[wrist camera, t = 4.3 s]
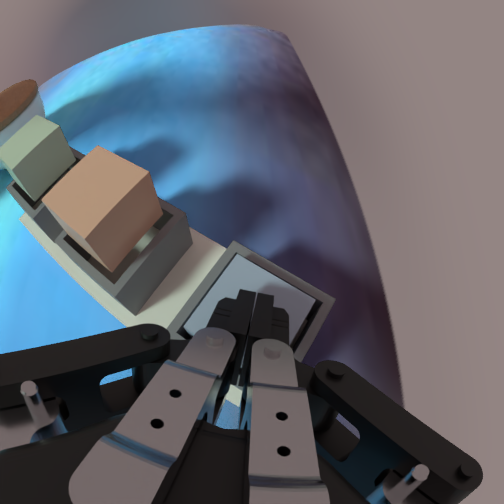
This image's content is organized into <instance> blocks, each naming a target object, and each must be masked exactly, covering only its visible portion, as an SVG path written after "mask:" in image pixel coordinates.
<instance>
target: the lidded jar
mask: <svg viewBox="0 0 504 504" xmlns="http://www.w3.org/2000/svg"><path fill="white" fill-rule="evenodd" d="M36 115H38V116H41V117H43V118H45V119H46V117H45V110H44V105H43V101H42V98H41V96H40V93H39V91H38V86H37V83H36V81H34V80H30V79H29V80H25V81H21V82H19V83H16V84H14V85H12V86H11V87H9V88H7V89H6V90H4V91H2V92H1V93H0V148H1V147H2V146H3V145H4V144H5V143H6V142H7V141H8V140H9V139H10V138H11V137H12V136H13V135H14V134H15V133H16V132H17V131H18V130H20V129H21V128H22V127H23V126H24V125H25V124H26V123H27V122H29V121H30V120H31V119H32V118H33V117H34V116H36ZM0 169H6V168H5V166H4V165H3V163H2V162H1V160H0Z"/></svg>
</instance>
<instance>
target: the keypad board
mask: <svg viewBox="0 0 504 504" xmlns="http://www.w3.org/2000/svg"><path fill="white" fill-rule="evenodd" d="M69 147H70V146H69ZM70 149H71V151H72V153H73V155H74V157H75V159H76V161H75V162H74V163H73V164H72V165H71V166H70V167H69V168H68V169H66V170H65V171H64V172H63V173H62V174H61V175H60V176H59V177H58V178H57V179H56V180H55V181H54V182H53V183H52V184H51V185H50V186H49V187H48V188H47V189H46V191H45V192H44V193H43V194H42V195H41V196H40V197H39V198H38V199H37V200H36V201H34V200H33V199H32V198H31V197H30V196H29V195H28V194H27V193H26V192H25V191H24V190H23V189H22V188H21V187H20V186H19V185H18V184H17V183H16V182H15V180H13V181H12V182H11V183H10V184H9V185H8V186H7V187H6V188H7V190H8V191H9V192H10V194H11V195H12V196H13V197H14V199H15V200H16V201H17V202H18V204H19V205H20V206H21V207H22V209H23V210H24V211H25V213H24V214H23V215H22V216H21V217H20V219H19V220H20V221H21V222H22V223H23V224H24V226H25V227H26V228H27V229H28V230H29V232H30V233H31V234H32V235H33V236H34V237H35V238H36V240H37V241H38V242H39V243H40V244H41V245H42V246H43V247H44V249H45V250H46V251H47V252H48V253H49V254H50V255H51V256H52V257H53V258H54V259H55V260H56V261H57V262H58V264H59V265H60V266H61V267H62V268H63V269H64V270H65V271H66V272H67V273H68V274H69V275H70V276H71V277H72V278H73V279H74V280H75V281H76V282H77V283H78V284H79V285H80V286H81V287H83V288H84V289H85V290H86V291H87V292H88V293H89V294H90V295H91V296H92V297H93V298H94V299H95V300H96V301H97V302H99V303H100V304H101V305H102V306H103V307H104V308H105V309H106V310H107V311H109V312H110V313H111V314H112V315H113V316H114V317H115V318H117V319H118V320H119V321H120V322H121V323H122V324H124V325H125V326H126V327H131V326H135V325H139V324H145V323H151V324H157V325H160V326H162V327H164V328H166V329H167V330H168V331H169V333H170V336H171V337H170V339H177V340H188V339H192V338H191V336H190V335H189V334H188V332H187V331H186V330H185V328H184V325H185V324H186V322H187V321H188V320H189V318H190V317H191V316H192V314H193V313H194V312H195V310H196V309H197V307H198V306H199V305H200V303H201V302H202V301H203V299H204V298H205V297H206V295H207V294H208V293H209V291H210V290H211V288H212V287H213V286H214V284H215V283H216V282H217V280H218V279H219V278H220V276H221V275H222V274H223V272H224V271H225V270H226V268H227V267H228V266H229V264H230V263H231V262H232V260H233V259H234V257H235V256H236V255H237V254H238V255H240V256H242V257H243V258H245V259H247V260H248V261H250V262H252V263H254V264H255V265H257V266H259V267H260V268H262V269H264V270H266V271H267V272H269V273H271V274H272V275H274V276H276V277H278V278H279V279H281V280H283V281H284V282H286V283H288V284H290V285H291V286H293V287H295V288H297V289H298V290H300V291H302V292H303V293H305V294H307V295H309V296H310V297H312V298H314V299H316V300H315V302H314V304H313V306H312V307H311V309H310V311H309V313H308V314H307V316H306V318H305V320H304V321H303V323H302V325H301V327H300V328H299V330H298V332H297V333H296V335H295V337H294V339H293V340H292V342H291V344H290V345H289V347H290V348H291V349H292V351H293V354H294V358H295V359H296V360H297V361H299V362H302V360H303V358H304V357H305V355H306V353H307V351H308V350H309V348H310V346H311V344H312V343H313V341H314V339H315V337H316V336H317V334H318V332H319V330H320V328H321V326H322V325H323V323H324V321H325V319H326V317H327V315H328V313H329V311H330V309H331V308H332V306H333V304H334V302H335V300H336V299H335V298H333V297H331V296H329V295H328V294H326V293H324V292H322V291H321V290H319V289H317V288H316V287H314V286H312V285H310V284H309V283H307V282H305V281H303V280H302V279H300V278H298V277H296V276H295V275H293V274H291V273H289V272H288V271H286V270H284V269H282V268H281V267H279V266H277V265H276V264H274V263H272V262H270V261H269V260H267V259H265V258H263V257H262V256H260V255H258V254H256V253H255V252H253V251H251V250H249V249H248V248H246V247H244V246H242V245H241V244H239V243H237V242H235V241H234V240H233V242H232V243H231V244H230V245H229V247H228V248H227V249H226V248H225V247H223V246H221V245H219V244H218V243H216V242H214V241H213V240H211V239H209V238H208V237H206V236H204V235H202V234H201V233H199V232H197V231H196V230H194V229H192V228H191V227H189V224H188V220H187V216H186V213H185V212H183V211H181V210H180V209H178V208H176V207H174V206H173V205H171V204H169V203H167V202H166V201H164V200H162V199H161V198H159V197H158V200H159V203H160V206H161V209H162V212H163V215H162V216H161V217H160V218H159V219H158V220H157V221H156V222H155V223H154V225H153V226H152V227H151V228H150V229H149V230H148V231H147V232H146V234H145V235H144V236H143V237H142V238H141V239H140V240H139V242H138V243H137V244H136V245H135V246H134V247H133V248H132V250H131V251H130V252H129V253H128V254H127V255H126V257H125V258H124V259H123V260H122V261H121V263H120V264H119V265H118V266H117V267H116V269H115V270H114V271H113V272H111V271H109V270H108V269H107V268H106V267H105V266H103V265H102V264H101V263H100V262H99V261H97V260H96V259H95V258H94V257H93V256H92V255H90V254H89V253H88V252H87V251H86V250H85V249H84V248H82V247H81V246H80V245H79V244H78V243H77V242H76V241H75V240H74V239H72V238H71V237H70V236H69V235H68V234H67V233H66V231H65V230H64V229H63V228H62V226H61V225H60V224H59V223H58V221H57V220H56V219H55V218H54V216H53V215H52V214H51V212H50V211H49V210H48V208H47V207H46V206H45V204H44V203H43V202H42V200H41V199H42V198H43V197H44V196H45V195H46V194H47V193H48V192H49V191H50V190H51V189H52V188H53V187H54V186H55V185H56V184H57V183H58V182H59V181H60V180H61V179H62V178H63V177H64V176H65V175H66V174H67V173H68V172H69V171H70V170H71V169H72V168H73V167H74V166H75V165H76V164H77V163H79V162H80V161H81V160H82V159H83V158H84V157H85V155H84V154H82V153H80V152H78V151H77V150H75V149H73V148H71V147H70ZM240 374H241V372H239V376H238V380H237V384H236V385H230V388H229V391H228V393H227V394H226V399H227V400H228V401H230V402H232V403H233V404H235V405H236V406H238V407H240V400H241V396H242V391H243V387H241V386H238V384H239V379H240Z"/></svg>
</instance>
